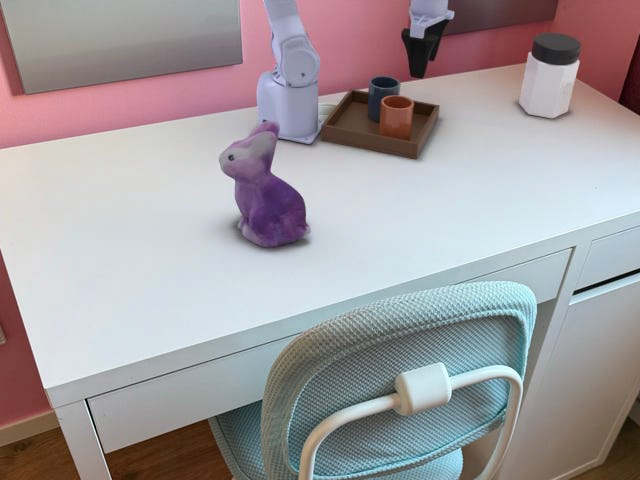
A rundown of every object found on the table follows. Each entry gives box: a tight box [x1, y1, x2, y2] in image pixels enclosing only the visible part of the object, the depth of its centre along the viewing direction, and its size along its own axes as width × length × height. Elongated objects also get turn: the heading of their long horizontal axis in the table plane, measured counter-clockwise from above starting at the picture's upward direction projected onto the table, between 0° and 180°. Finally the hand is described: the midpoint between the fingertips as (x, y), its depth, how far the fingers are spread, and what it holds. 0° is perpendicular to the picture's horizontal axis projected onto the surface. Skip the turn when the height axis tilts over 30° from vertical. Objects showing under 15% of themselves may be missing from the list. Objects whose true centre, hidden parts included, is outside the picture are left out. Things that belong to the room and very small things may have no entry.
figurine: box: [218, 121, 311, 248], centre depth 94 cm, size 9×10×15 cm
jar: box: [518, 32, 582, 120], centre depth 129 cm, size 9×8×12 cm
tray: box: [320, 88, 440, 160], centre depth 122 cm, size 16×15×3 cm
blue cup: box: [367, 75, 402, 123], centre depth 123 cm, size 5×5×6 cm
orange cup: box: [379, 95, 414, 141], centre depth 118 cm, size 5×5×6 cm
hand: (422, 68), depth 119 cm, fingers open, 7 cm apart
